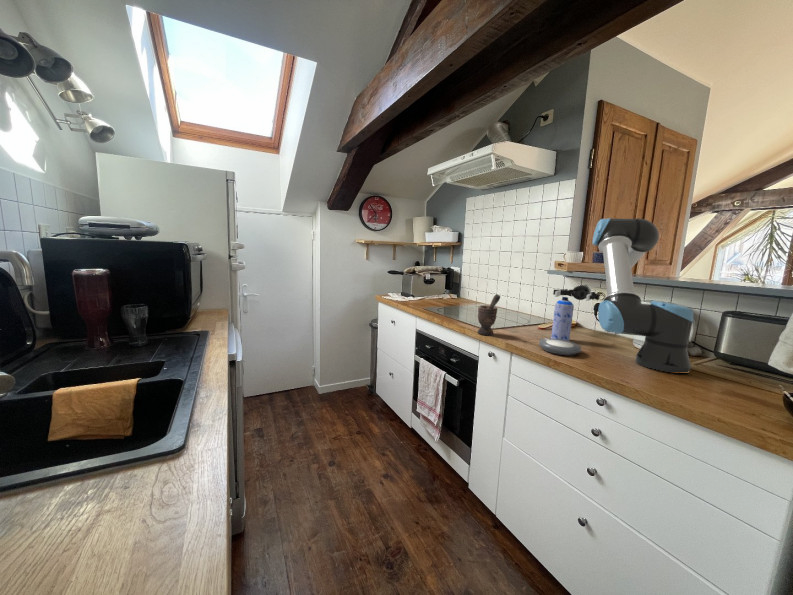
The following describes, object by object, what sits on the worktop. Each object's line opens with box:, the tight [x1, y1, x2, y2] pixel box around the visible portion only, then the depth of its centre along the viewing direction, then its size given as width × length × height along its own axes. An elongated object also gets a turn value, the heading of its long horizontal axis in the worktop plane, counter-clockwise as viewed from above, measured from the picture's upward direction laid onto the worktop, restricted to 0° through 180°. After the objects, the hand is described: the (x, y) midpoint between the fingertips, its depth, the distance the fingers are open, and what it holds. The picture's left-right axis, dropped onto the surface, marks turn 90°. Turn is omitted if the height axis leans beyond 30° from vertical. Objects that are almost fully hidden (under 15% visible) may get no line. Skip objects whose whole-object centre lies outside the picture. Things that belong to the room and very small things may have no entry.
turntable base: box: [542, 347, 577, 357], centre depth 125 cm, size 12×12×1 cm
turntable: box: [538, 337, 582, 354], centre depth 124 cm, size 15×15×2 cm
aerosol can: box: [550, 296, 575, 342], centre depth 140 cm, size 8×8×20 cm
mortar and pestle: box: [476, 294, 501, 336], centre depth 144 cm, size 12×9×20 cm
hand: (571, 296), depth 147 cm, fingers open, 13 cm apart
